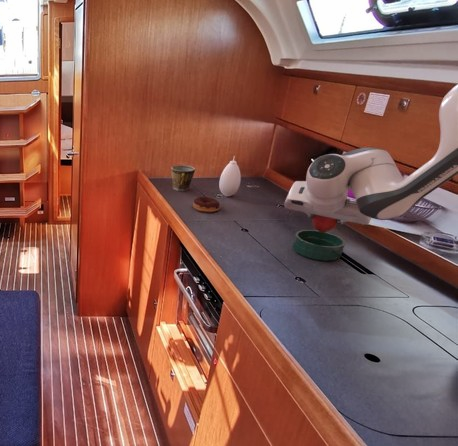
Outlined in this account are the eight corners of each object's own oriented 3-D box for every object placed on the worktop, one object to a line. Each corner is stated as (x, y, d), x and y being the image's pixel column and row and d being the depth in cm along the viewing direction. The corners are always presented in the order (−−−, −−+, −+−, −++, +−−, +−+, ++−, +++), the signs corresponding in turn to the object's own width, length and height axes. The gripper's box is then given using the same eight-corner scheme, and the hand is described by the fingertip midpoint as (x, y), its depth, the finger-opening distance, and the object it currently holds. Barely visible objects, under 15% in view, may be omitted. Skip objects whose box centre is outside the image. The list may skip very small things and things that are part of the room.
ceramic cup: (168, 185, 188) (170, 164, 184) (191, 186, 185) (194, 165, 181) (169, 194, 177) (172, 172, 172) (193, 195, 173) (196, 173, 169)
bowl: (335, 247, 125) (339, 232, 123) (345, 265, 115) (350, 250, 113) (289, 241, 130) (293, 227, 128) (295, 258, 120) (299, 243, 118)
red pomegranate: (314, 236, 118) (321, 211, 115) (306, 228, 123) (312, 204, 120) (337, 237, 117) (344, 212, 114) (328, 229, 122) (334, 205, 119)
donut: (215, 215, 152) (217, 205, 151) (189, 210, 158) (190, 201, 156) (221, 207, 160) (223, 198, 158) (196, 202, 165) (197, 194, 164)
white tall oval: (240, 199, 167) (248, 157, 160) (220, 198, 168) (227, 157, 161) (234, 192, 174) (241, 152, 167) (215, 192, 175) (221, 152, 168)
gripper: (379, 195, 102) (374, 218, 112) (288, 180, 116) (291, 202, 126) (371, 216, 101) (366, 237, 111) (280, 198, 115) (283, 219, 125)
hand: (325, 218), depth 119 cm, fingers closed on red pomegranate, 6 cm apart
